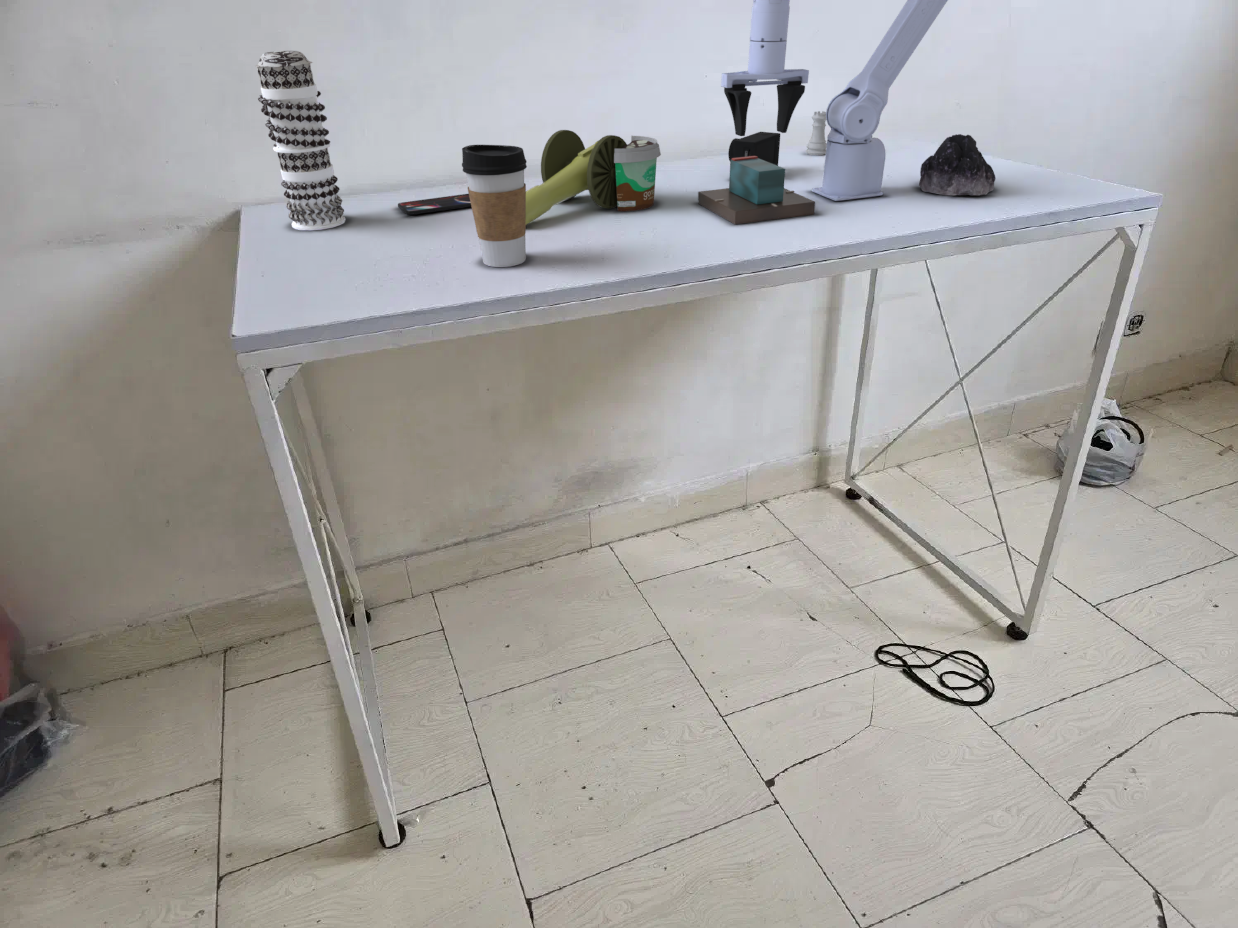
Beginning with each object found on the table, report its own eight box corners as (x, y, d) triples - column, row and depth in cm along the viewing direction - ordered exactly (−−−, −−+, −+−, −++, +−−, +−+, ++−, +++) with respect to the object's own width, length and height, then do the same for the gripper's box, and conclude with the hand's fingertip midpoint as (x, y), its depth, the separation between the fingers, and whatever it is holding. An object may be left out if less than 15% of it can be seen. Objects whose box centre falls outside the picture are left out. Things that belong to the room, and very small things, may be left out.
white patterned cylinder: (287, 220, 134) (246, 52, 120) (344, 213, 137) (310, 48, 123) (291, 234, 126) (248, 57, 113) (351, 226, 129) (316, 52, 116)
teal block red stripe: (783, 201, 127) (785, 167, 125) (757, 204, 126) (759, 170, 123) (753, 188, 135) (755, 155, 133) (728, 191, 134) (730, 158, 131)
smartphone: (493, 200, 138) (406, 212, 133) (493, 204, 139) (407, 216, 133) (479, 191, 144) (396, 203, 138) (479, 195, 144) (396, 206, 139)
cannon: (541, 234, 122) (534, 156, 116) (486, 223, 129) (478, 148, 123) (639, 200, 139) (638, 129, 133) (587, 191, 145) (584, 124, 139)
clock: (772, 194, 140) (773, 182, 138) (815, 214, 128) (816, 200, 127) (697, 203, 136) (697, 190, 135) (734, 224, 124) (735, 210, 123)
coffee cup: (476, 253, 115) (462, 142, 108) (534, 250, 116) (525, 139, 108) (471, 272, 108) (456, 155, 100) (534, 268, 109) (524, 152, 101)
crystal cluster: (962, 181, 147) (966, 123, 142) (1016, 191, 135) (1022, 127, 130) (898, 195, 144) (900, 136, 139) (948, 206, 132) (953, 142, 128)
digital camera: (752, 168, 157) (754, 130, 154) (777, 171, 155) (780, 132, 151) (726, 179, 150) (728, 139, 147) (752, 182, 148) (754, 142, 144)
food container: (652, 215, 130) (651, 150, 125) (615, 213, 132) (613, 149, 126) (667, 196, 140) (667, 135, 135) (633, 195, 142) (632, 135, 136)
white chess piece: (805, 155, 166) (809, 114, 162) (805, 151, 170) (808, 110, 166) (827, 155, 166) (832, 114, 161) (826, 151, 169) (831, 110, 165)
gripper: (796, 37, 130) (787, 126, 137) (714, 40, 126) (710, 132, 133) (819, 40, 125) (809, 133, 132) (734, 43, 121) (729, 139, 128)
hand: (761, 133), depth 132 cm, fingers open, 7 cm apart
